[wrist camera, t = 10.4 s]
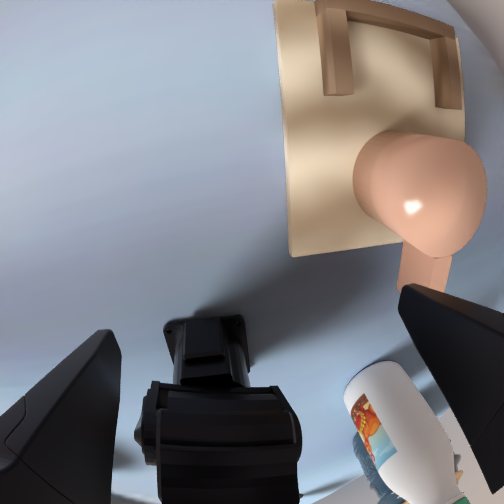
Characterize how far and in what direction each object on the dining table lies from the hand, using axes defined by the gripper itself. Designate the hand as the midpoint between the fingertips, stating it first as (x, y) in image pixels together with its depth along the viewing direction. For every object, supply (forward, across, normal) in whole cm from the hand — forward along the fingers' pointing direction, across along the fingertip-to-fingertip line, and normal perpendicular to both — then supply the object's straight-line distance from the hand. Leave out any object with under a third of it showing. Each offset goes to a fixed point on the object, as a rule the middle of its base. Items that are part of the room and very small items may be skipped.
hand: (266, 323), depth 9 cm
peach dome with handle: (+12, -12, +1) cm, 17 cm away
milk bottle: (+13, -14, +22) cm, 29 cm away
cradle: (+13, -12, -5) cm, 18 cm away
